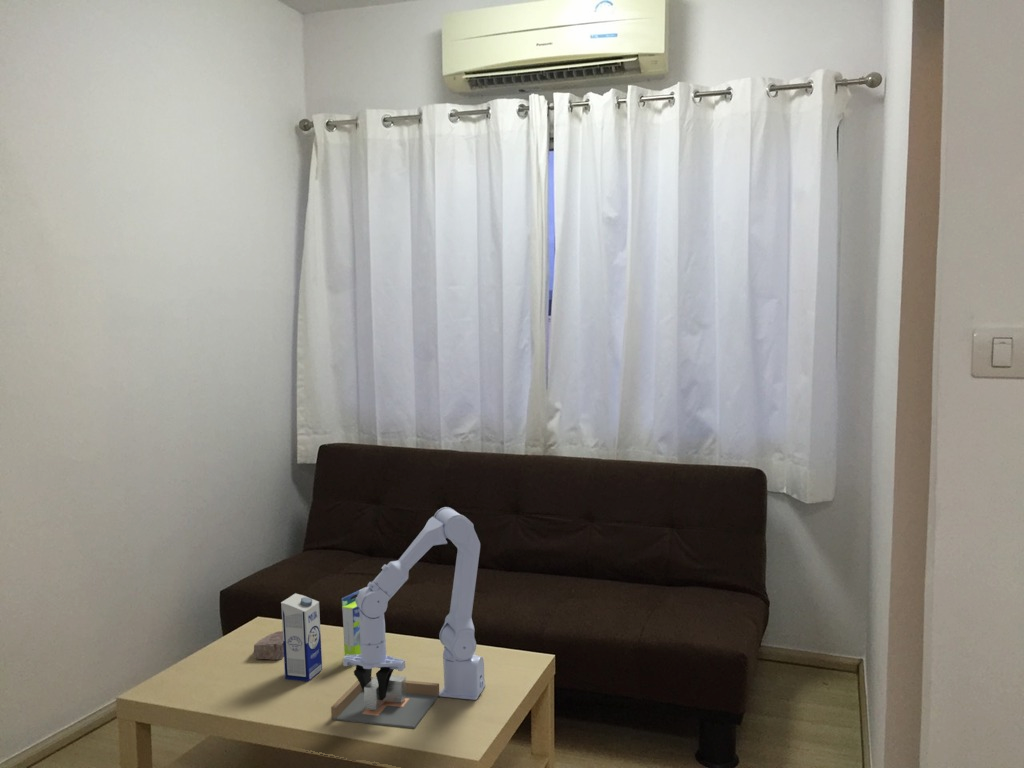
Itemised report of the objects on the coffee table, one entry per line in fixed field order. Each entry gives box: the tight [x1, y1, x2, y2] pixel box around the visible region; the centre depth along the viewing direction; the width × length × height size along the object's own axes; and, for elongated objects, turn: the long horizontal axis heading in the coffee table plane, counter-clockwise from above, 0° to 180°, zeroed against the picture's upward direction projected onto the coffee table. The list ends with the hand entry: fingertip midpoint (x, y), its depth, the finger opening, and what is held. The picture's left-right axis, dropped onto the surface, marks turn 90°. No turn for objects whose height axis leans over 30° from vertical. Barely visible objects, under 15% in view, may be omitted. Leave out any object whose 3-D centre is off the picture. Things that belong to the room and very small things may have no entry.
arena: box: [330, 676, 440, 730], centre depth 189 cm, size 20×16×3 cm
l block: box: [364, 674, 407, 710], centre depth 188 cm, size 8×7×5 cm
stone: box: [253, 630, 284, 661], centre depth 223 cm, size 12×9×5 cm
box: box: [341, 586, 367, 657], centre depth 217 cm, size 10×4×17 cm, turn 151°
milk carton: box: [280, 592, 323, 682], centre depth 207 cm, size 7×7×20 cm
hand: (375, 697), depth 188 cm, fingers closed on l block, 3 cm apart
